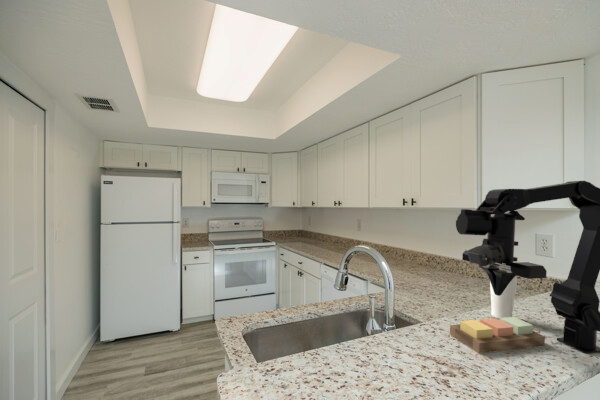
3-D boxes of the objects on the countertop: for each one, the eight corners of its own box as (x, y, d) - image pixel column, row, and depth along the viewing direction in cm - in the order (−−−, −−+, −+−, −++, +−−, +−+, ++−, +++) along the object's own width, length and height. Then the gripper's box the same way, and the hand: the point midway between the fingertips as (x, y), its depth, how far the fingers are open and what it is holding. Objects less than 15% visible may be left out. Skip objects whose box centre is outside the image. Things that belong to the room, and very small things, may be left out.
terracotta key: (494, 327, 73) (495, 318, 73) (512, 337, 69) (513, 327, 69) (479, 329, 72) (480, 319, 72) (497, 339, 67) (497, 328, 67)
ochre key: (475, 329, 72) (475, 319, 72) (492, 339, 67) (493, 328, 67) (459, 331, 71) (460, 321, 71) (476, 341, 66) (476, 330, 66)
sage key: (513, 326, 75) (513, 316, 75) (532, 335, 70) (533, 325, 70) (499, 327, 74) (499, 317, 74) (517, 336, 69) (518, 326, 69)
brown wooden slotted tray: (509, 328, 77) (510, 320, 77) (544, 346, 68) (544, 336, 68) (449, 334, 73) (450, 325, 72) (478, 353, 64) (479, 343, 64)
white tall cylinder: (503, 323, 80) (506, 274, 80) (483, 313, 87) (485, 268, 87) (520, 321, 82) (522, 273, 82) (498, 312, 89) (500, 267, 89)
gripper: (447, 231, 77) (445, 284, 78) (511, 242, 59) (508, 312, 59) (479, 231, 80) (476, 283, 80) (549, 242, 62) (546, 309, 62)
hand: (497, 295), depth 70 cm, fingers closed
